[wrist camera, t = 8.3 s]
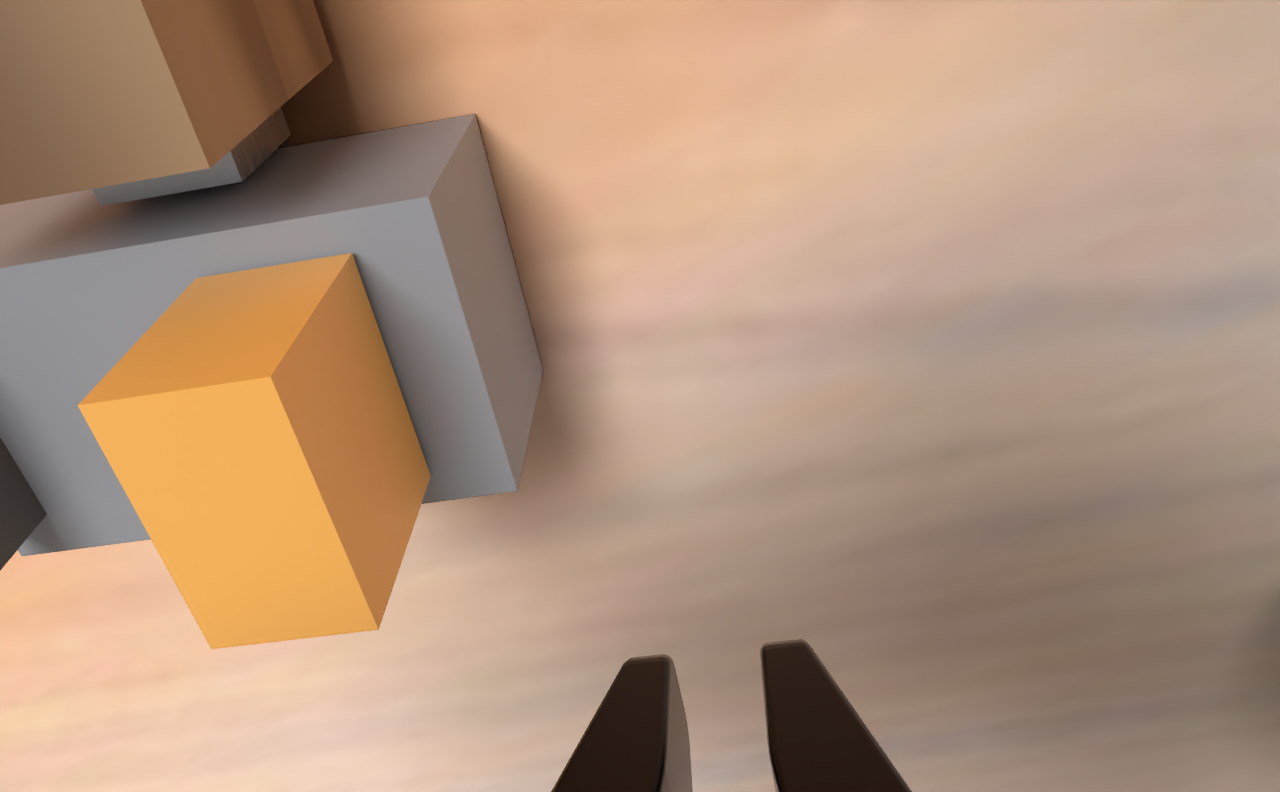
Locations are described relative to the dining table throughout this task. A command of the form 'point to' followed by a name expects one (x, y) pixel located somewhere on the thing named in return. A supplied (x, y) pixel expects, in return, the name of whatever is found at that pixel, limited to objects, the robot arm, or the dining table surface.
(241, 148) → the rail
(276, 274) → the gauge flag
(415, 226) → the end cabinet
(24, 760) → the dining table surface
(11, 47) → the block
